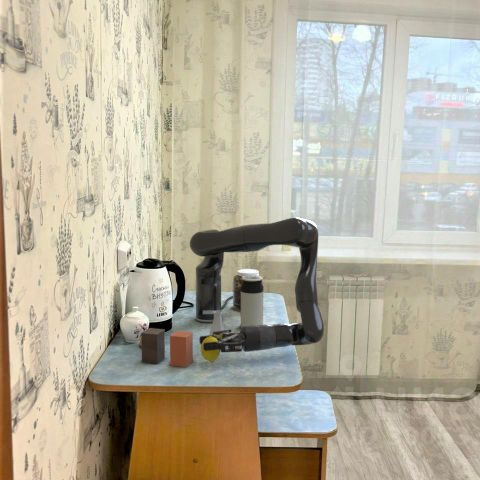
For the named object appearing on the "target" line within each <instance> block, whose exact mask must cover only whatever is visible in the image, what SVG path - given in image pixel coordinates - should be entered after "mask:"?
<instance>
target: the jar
mask: <svg viewBox="0 0 480 480" xmlns="http://www.w3.org/2000/svg"><path fill="white" fill-rule="evenodd" d="M248 275H256V276H261V274H259V270H258V269H255V268H254V269H253V268H242V269H238V270H237V274H234V276H233V280H232V281H233V282H232V296H233V298H232V309H233V310H235V311H237V312H241V285H242V284H243V280H242V277H243V276H248ZM261 277H263V276H261ZM263 280H264V279H262V285H263V286H264V284H263V283H264V281H263Z"/></svg>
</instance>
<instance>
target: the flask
mask: <svg viewBox="0 0 480 480" xmlns="http://www.w3.org/2000/svg"><path fill="white" fill-rule="evenodd" d="M223 312H224V311H223V310H221V311H220V310H218V311H213V314H214V321H213V322H212V325H211V328H210V331H209V334H208V335H212V334H213V332H217V331H223V330H226V328H225V324H224V322H223V314H224V313H223ZM217 338H218V337H217Z"/></svg>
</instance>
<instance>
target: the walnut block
mask: <svg viewBox="0 0 480 480" xmlns="http://www.w3.org/2000/svg"><path fill="white" fill-rule="evenodd" d="M165 331H166V330H165V328H164V329H163V328H155V327H148V328H147V329H145V330H144V331H142V332H141V334H140V338H141V343H142V347H141V363H145V364H154V365H158V364H159V363H161V362H162V361H163V360H165V359H166V340H165V339H166V337H165V335H166V333H165Z"/></svg>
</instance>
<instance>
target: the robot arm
mask: <svg viewBox="0 0 480 480" xmlns="http://www.w3.org/2000/svg"><path fill="white" fill-rule="evenodd" d="M271 246H289V247H294V248H298V250H299V254H300V265H299V269H298V273H297V276H296V279H295V284H294V295H295V296H294V298H295V306H296V307H295V308H296V311H297V313H299V314H300V320H301V322H298V323H290V324H289V323H273V324H272V323H271V324H267V323H265V324H264V323H263V325H253V326H243V327H240V331H239V332H236V331H232V330H233V329H231V328H228V329H225V330H223V331H217V332H213V334H212V335H209V334H208V335H200V336H199V339H198V341H199V344H200V345H202V342H203V340H204V339H206V338H207V337H209V336H212V337H214V338H216V339H217V340H218V341H217V342H206V343H204V344H203V349H204V351H208V350H218V351H220V353H240V352H242V351H243V352H244V353H248V352H249V353H250V352H258V351H259V352H260V351H267V350H272V349H278V348H279V349H280V348H285V347H289V346H307V345H313V344H317V343H319V342H320V341H322V339H323V338H324V334H325V326H324V325H325V323H324V320H323V315H322V313H321V310H320V307H319V294H318V281H317V271H318V252H319V229H318V226H317V225H316V223H315V222H313V221H311V220H308V219H304V218H302V217H301V218H300V217H290V218H286V219H282V220H278V221H274V222H270V223H269V222H268V223H265V222H263V223H252V224H243V225H238V226H233V227H230V228H227V229H222V230H219V229H213V228H212V229H205V230H199V231H197V232H195V233H194V234H192V236H191V238H190V240H189V248H190V250H191V252H192V253H193V254H194V255H196V256H198V257H204V258H203V259H202V261H200V262H199V263H198V264H197V265H196V266H195V321H196V322H199V323H207V324H208V323H209V324H210V323H213V321H214V314H213V311H218V310H220V311H223V309H224V308H225V307H226V305H227V304H228V301H230V300H231V299H233V295H231V296H229V297H227V298H226V300H225V302H224V304H223V305H222V270H223V267H224V261H225V260H224V259H225V258H224V256H225V253H254V252H259V251H262V250H265V249H266V248H269V247H271ZM217 337H218V338H217Z"/></svg>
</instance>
